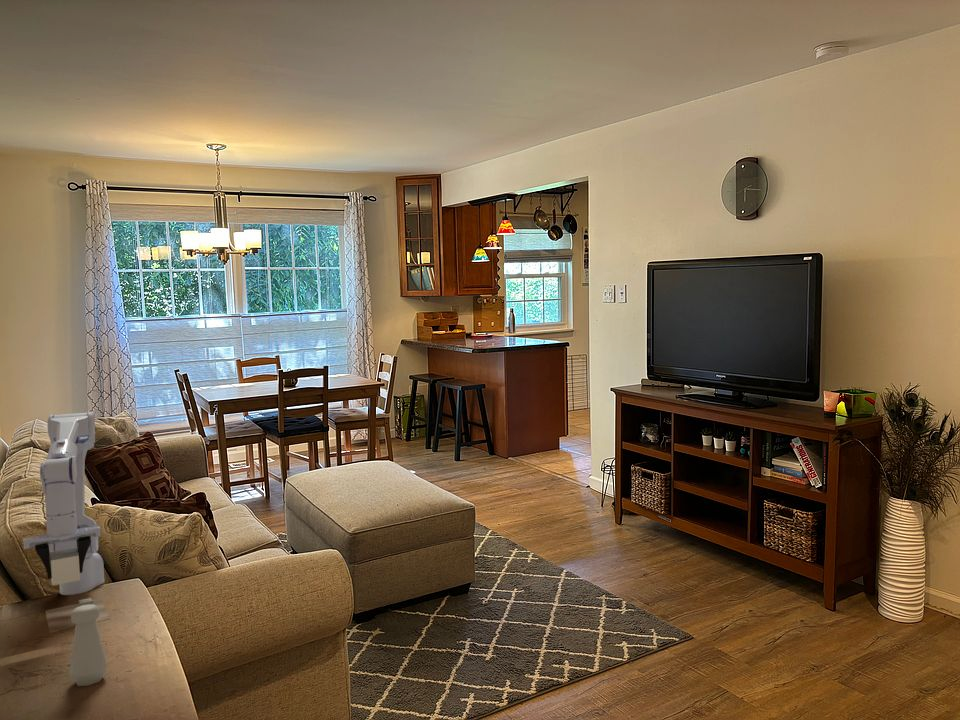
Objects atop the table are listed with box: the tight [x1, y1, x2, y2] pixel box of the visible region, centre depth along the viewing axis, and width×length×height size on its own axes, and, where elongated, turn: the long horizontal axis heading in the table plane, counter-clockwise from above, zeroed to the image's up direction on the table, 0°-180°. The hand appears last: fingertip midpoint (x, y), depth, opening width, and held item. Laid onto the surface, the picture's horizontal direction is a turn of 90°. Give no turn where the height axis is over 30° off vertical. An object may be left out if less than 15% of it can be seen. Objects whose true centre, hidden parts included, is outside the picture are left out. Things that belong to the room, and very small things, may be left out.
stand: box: [44, 597, 111, 634], centre depth 156 cm, size 16×11×5 cm
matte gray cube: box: [49, 548, 80, 586], centre depth 158 cm, size 5×5×6 cm
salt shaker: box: [68, 604, 108, 687], centre depth 126 cm, size 6×6×13 cm
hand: (65, 574), depth 158 cm, fingers closed on matte gray cube, 5 cm apart
